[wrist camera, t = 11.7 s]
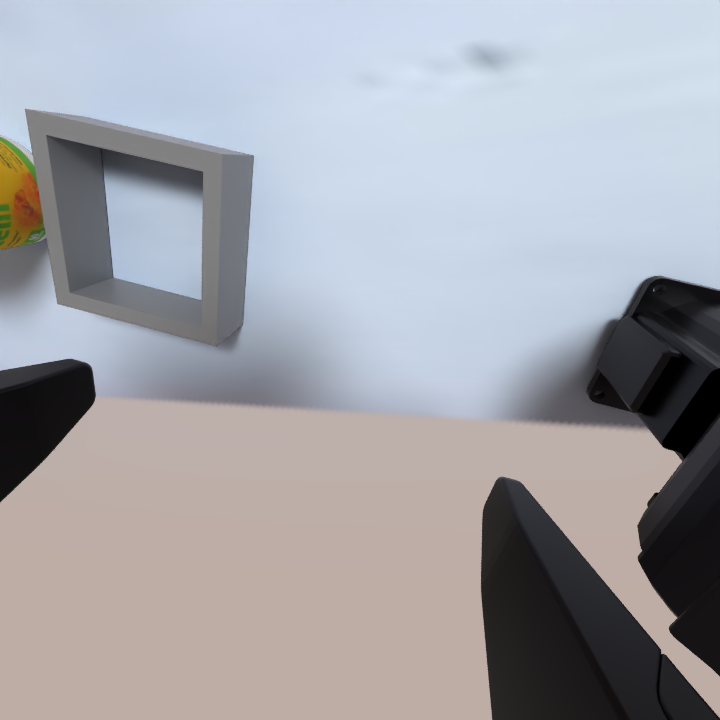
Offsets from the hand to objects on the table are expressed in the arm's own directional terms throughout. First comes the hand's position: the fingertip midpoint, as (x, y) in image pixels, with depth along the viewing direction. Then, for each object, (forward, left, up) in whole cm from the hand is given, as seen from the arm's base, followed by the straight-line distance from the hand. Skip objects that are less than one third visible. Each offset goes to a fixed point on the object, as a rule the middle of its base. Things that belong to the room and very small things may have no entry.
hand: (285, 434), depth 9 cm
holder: (+11, 0, -13) cm, 17 cm away
